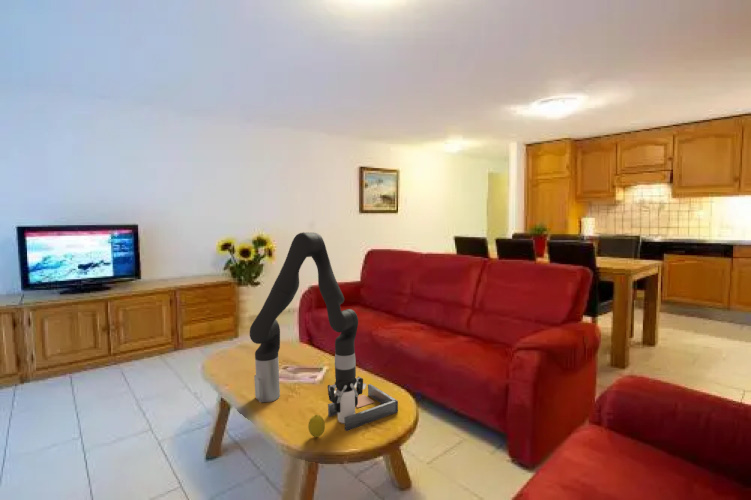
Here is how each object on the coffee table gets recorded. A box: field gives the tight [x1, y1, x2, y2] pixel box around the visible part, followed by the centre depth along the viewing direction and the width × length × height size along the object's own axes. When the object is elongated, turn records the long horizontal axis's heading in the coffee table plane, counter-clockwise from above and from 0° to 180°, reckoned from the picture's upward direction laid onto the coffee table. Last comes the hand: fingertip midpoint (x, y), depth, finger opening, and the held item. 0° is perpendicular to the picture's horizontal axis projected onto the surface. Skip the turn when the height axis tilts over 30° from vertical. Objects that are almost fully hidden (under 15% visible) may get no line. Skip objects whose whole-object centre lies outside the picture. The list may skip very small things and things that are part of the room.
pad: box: [356, 394, 376, 409], centre depth 162 cm, size 8×8×1 cm
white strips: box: [334, 382, 367, 394], centre depth 173 cm, size 12×12×2 cm
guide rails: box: [327, 383, 399, 432], centre depth 154 cm, size 23×19×4 cm
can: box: [337, 389, 356, 425], centre depth 147 cm, size 6×6×12 cm
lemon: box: [307, 414, 326, 438], centre depth 137 cm, size 6×6×8 cm
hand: (346, 408), depth 148 cm, fingers closed on can, 6 cm apart
